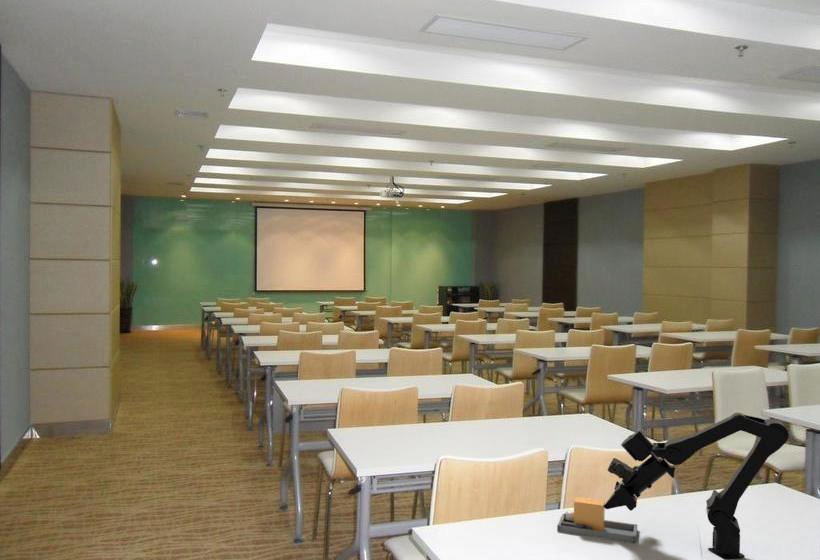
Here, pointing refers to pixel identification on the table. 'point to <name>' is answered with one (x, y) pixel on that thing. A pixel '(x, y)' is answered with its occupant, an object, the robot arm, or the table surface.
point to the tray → (610, 531)
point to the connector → (588, 513)
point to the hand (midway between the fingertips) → (605, 507)
